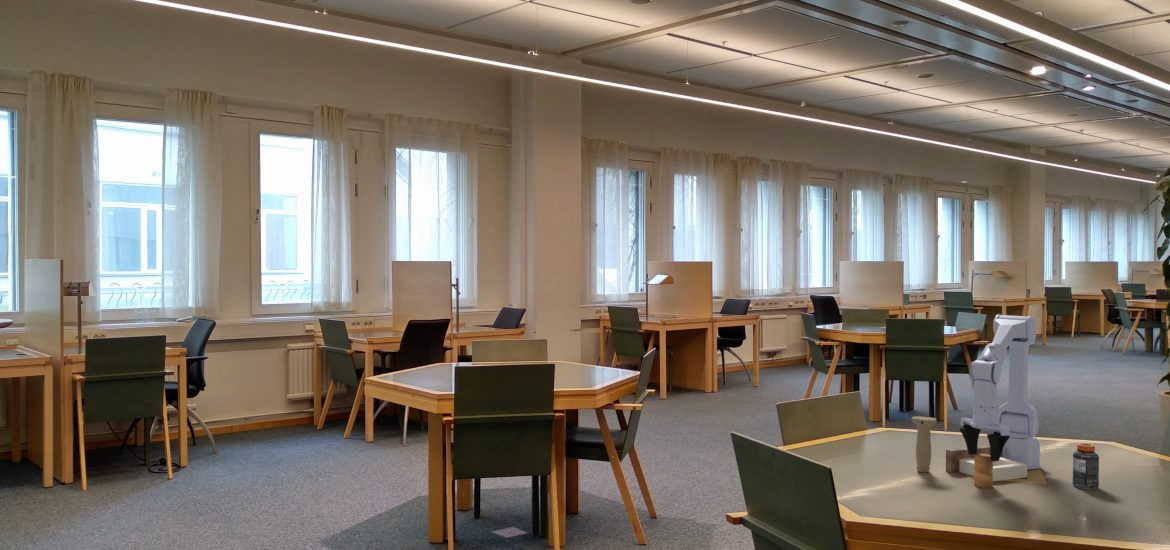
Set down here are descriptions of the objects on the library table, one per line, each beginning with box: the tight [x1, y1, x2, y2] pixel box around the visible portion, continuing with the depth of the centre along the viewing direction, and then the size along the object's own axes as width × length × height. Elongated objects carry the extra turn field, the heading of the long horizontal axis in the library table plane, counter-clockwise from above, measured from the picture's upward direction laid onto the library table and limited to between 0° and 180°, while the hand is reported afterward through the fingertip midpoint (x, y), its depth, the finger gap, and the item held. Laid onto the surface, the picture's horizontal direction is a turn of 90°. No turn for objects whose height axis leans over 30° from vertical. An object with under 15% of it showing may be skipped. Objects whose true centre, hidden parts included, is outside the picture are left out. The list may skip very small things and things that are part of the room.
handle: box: [911, 415, 937, 474], centre depth 240 cm, size 5×6×15 cm
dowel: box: [973, 454, 994, 489], centre depth 225 cm, size 4×4×8 cm
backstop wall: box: [945, 444, 1003, 473], centre depth 243 cm, size 19×2×6 cm, turn 110°
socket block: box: [959, 457, 1028, 482], centre depth 237 cm, size 13×11×4 cm
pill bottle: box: [1072, 442, 1100, 491], centre depth 224 cm, size 6×6×11 cm
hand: (983, 457), depth 225 cm, fingers open, 7 cm apart
